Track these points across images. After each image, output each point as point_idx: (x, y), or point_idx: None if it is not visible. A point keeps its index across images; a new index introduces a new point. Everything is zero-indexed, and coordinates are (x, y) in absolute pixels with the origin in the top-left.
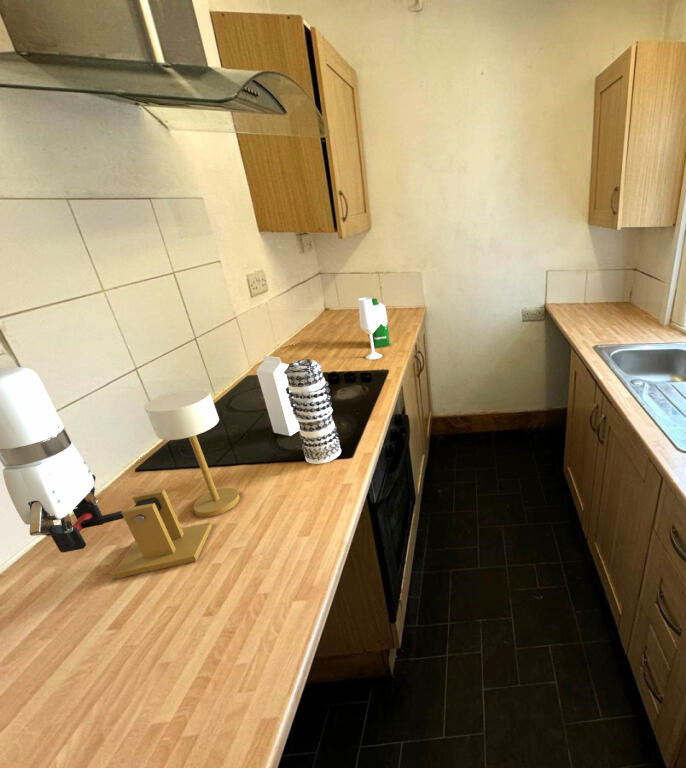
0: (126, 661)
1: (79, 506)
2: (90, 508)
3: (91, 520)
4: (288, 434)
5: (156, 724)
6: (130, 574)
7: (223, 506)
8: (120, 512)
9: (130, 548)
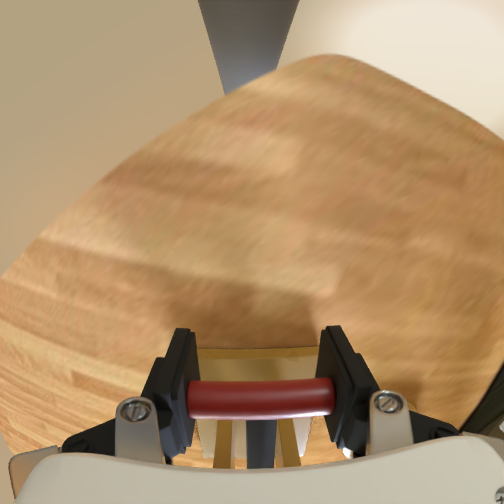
0: (38, 398)
1: (355, 424)
2: (336, 436)
3: (255, 447)
4: (501, 425)
5: (7, 419)
6: None
7: (348, 455)
8: None
9: (276, 360)
